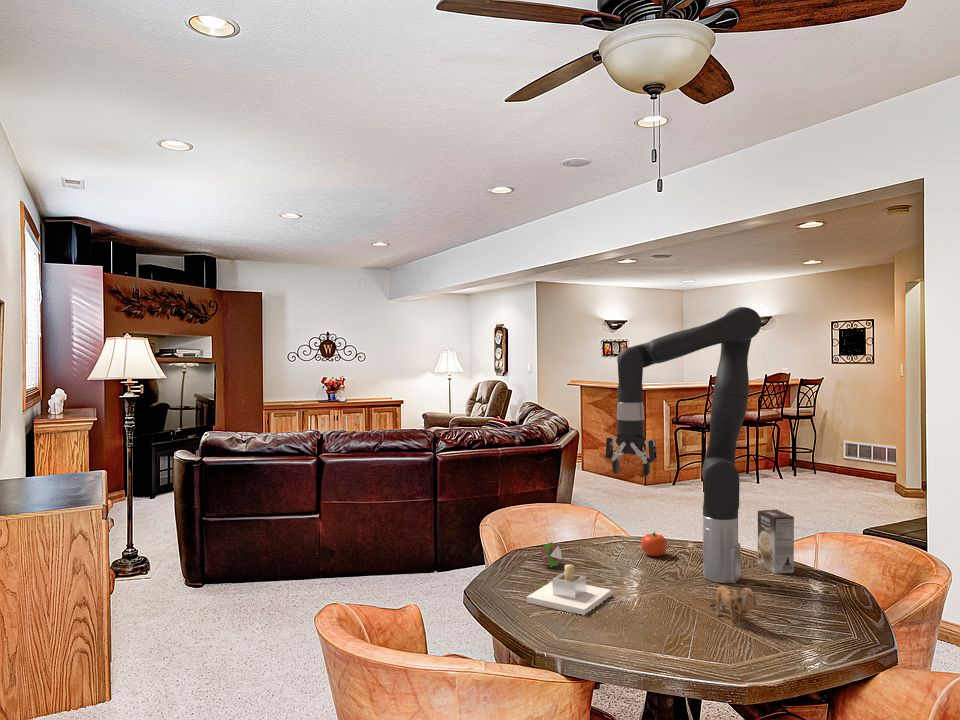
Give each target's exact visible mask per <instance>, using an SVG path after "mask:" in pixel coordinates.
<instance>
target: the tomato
mask: <svg viewBox="0 0 960 720" xmlns="http://www.w3.org/2000/svg"><path fill="white" fill-rule="evenodd" d="M640 546H641V549H642V551H643V552H644V553H645V555H647V556H650V557H661V556H662V555H664V554H665V553H666V552H667V550H668V541H667V539H666V538H665V537H664V536H663V535H662V534H658V533H656V532H655V531H653V533H647V534H645V535H643V536H642V538H641V539H640Z"/></svg>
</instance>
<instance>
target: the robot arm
mask: <svg viewBox="0 0 960 720" xmlns="http://www.w3.org/2000/svg"><path fill="white" fill-rule="evenodd" d="M761 328H762V318H761V316H760V315H759V313H758V312H757V311H756V310H755V309H752V308H750V307H747V306H739V307H736V308H733V309H731V310H729V311H728V312H727V313H725V315H723V316H721V317H719V318H717V319H715V320H712V321H711V322H707V323H704V324H702V325H701V324H700V325H699V326H695V327H691V328H688V329H687V328H686V329H683V330H679V331H676V332H672V333H669V334H666V335H663V336H660V337H657V338H654V339H651V340H650V341H647V342H644V343H640V344H637V345H634V346H629V347H626V348H623V349H622V350H620V352H619V353H618V354H617V357H616V361H617V362H616V363H617V376H618V377H617V378H618V384H617V405H616V406H617V407H616V435H617V436H616V437H613V436H610V437H607V438H606V440H605V441H606V443H605V458H606V459H609V460H611V462H612V465H611V466H612V472H613V474H614V475H619V474H620V460H619V459H620V458H621V457H622V455H623V454H625V455H628V454H630V455H637V456H638V458H640V460H641V461H642V462H643V463H642V477H643V478H647V477H648V476H649V475H650V473H651V463H653V462H655V461H657V457H658V456H657V443H656V439H651V440H650V439H647V440H646V439H645V409H644V408H645V407H644V389H643V375H644V374H643V373H644V369H645V368H648V367H650V366H653V365H656V364H662V363H666V362H670V361H672V360H675V359H678V358H682V357H684V356H687V355H689V354H692V353H695V352H698V351H700V350H704V349H705V348H709V347H713V346H716V345H719V344H720V345H721V346H720V357H719V363H718V366H717V370H716V376H715V381H714V385H713V392H712V399H711V406H710V407H711V408H710V409H711V410H710V418H709V419H710V421H709V439H708V444H707V448H706V449H707V450H706V454H705V457H704V460H703V463H702V469H701V477H702V480H703V505H702V553H703V554H702V555H703V556H702V559H703V561H702V564H703V565H702V566H703V567H702V570H703V575H702V576H703V577H704V579H705V580H708V581H711V582H714V583H722V584H723V583H724V584H736V583H737V582H738V581H739V580H740V579H741V577H742V575H741V569H742V568H741V543H740V542H739V509H740V474H739V470H738V469H737V467H736V450H737V442H738V437H739V434H740V432H741V429H742V427H743V423H744V420H745V417H746V415H747V414H746V413H747V408H748V401H749V395H750V393H749V391H750V383H749V382H750V380H749V368H748V359H749V353H750V352H749V351H750V346H751V342H752V339H753V338H755V337H756V336H757V335H758V333H759V332H760V329H761ZM614 445H617V446H618V448H617V449H616V450H615V452H614ZM645 446H646V447H647V448H648V453H647V451H646V450H645V448H644V447H645Z"/></svg>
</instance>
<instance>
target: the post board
mask: <svg viewBox="0 0 960 720" xmlns="http://www.w3.org/2000/svg"><path fill="white" fill-rule="evenodd" d="M564 572H565V580H568V581H574V574H575V565H574V564H571V563H569V564H565V565H564ZM608 597H609V598H610V597H612V589H609V588H604V587H599V586H594V585H590V584H586V592H585V593H584V594H583V595H581V596H580V597H578V598H577V599H571V598H566V597H562V596H557V595H553V587H552V581H550V582H549V583H546V584H545V585H544V586H542V587H540V588H538V589H537V590H535V591H534V592H532V593H530V594H529V595H527V596H526V603H528V604H532V605H536V606H541V607H544V608H550V609H554V610H558V611H563V612H567V613H570V614H575V613H577V614H576V615H579V614H582V615H581V616H584V615H585V614H586V613H588V612H589V611H590V612H592V611H593V610H595V607H596V606H597V607H598V606H600V605H601V604H602V603H603V601H604V600H605V601H606V600H608V599H609V598H608ZM607 598H608V599H607ZM605 601H604V602H605ZM600 603H601V604H600ZM599 604H600V605H599ZM597 607H596V608H597ZM592 609H593V610H592ZM591 610H592V611H591ZM590 612H589V613H590ZM589 613H588V614H589ZM586 615H587V614H586ZM586 615H585V616H586Z"/></svg>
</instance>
